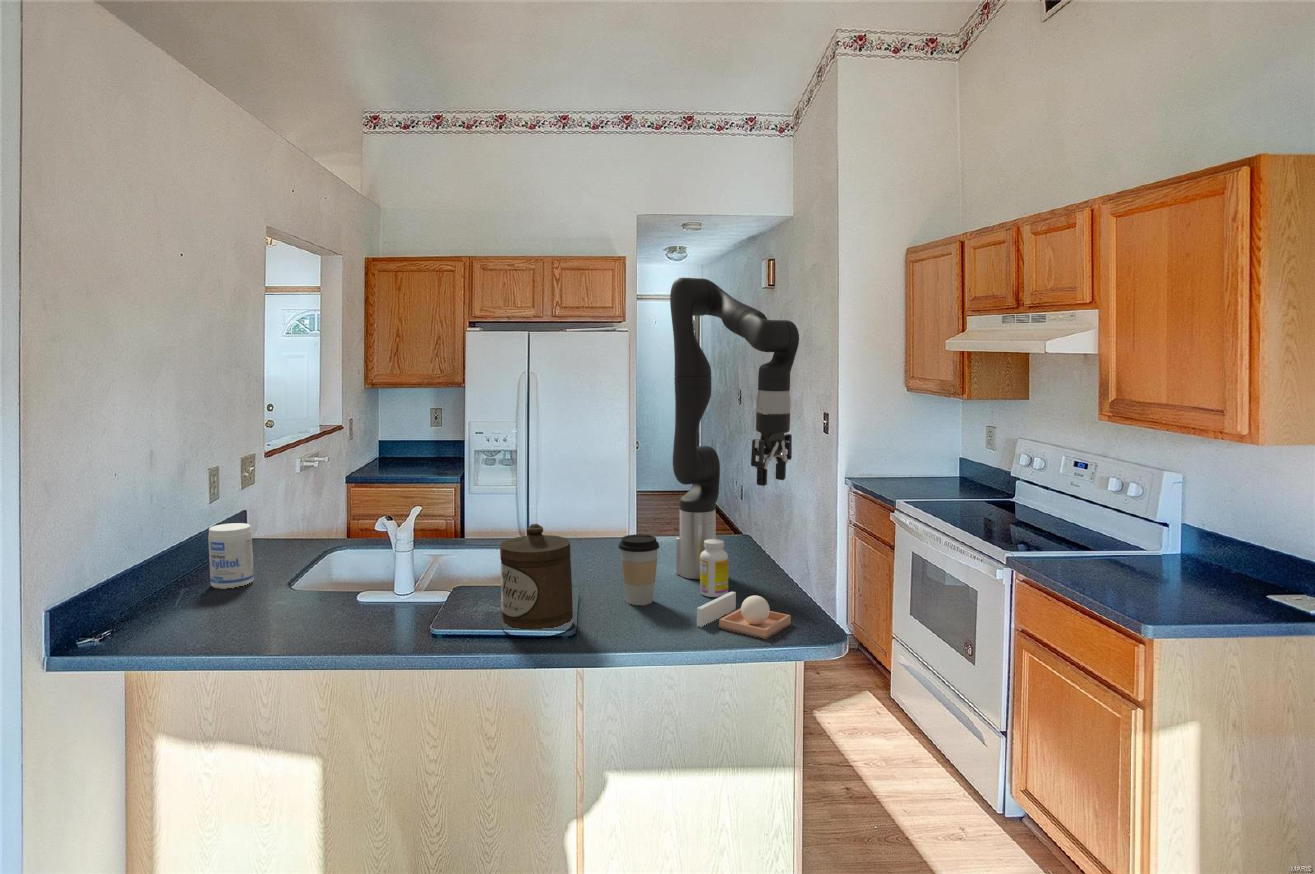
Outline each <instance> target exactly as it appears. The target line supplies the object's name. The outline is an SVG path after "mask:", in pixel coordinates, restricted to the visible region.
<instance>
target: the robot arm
mask: <svg viewBox="0 0 1315 874" xmlns="http://www.w3.org/2000/svg"><path fill="white" fill-rule="evenodd" d="M669 295H670V296H669V304H670V305H669V306H670V315H671V316H670V317H671V323H672V333H673V335H672V336H673V346H674V347H673V348H674V350H673V351H674V352H673V353H674V374H673V375H674V398H675V399H674V400H675V403H674V404H675V406H674V407H675V409H674V410H675V412H674V413H675V416H674V418H675V419H674V435H673V436H674V437H673V451H672V470H673V474H674V477H675V479H676V480H677V481H678V483H680V484H682V485H691V487H690V489H689V490H688V491H687V492H686V493H685V494H684V495H682V496H681V497H680V499H679V507H678V508H679V536H678V537H676V539H675V541H676V543H675V546H676V549H675V551H676V552H675V556H676V557H675V561H676V563H675V566H676V568H675V569H676V571H675V573H676V575H678V576H681V577H682V578H686V579H691V580H700V554H701V553H702V552H703V551H704V550H705V546H704V541H705V540H708V539H716V525H717V524H716V504H717V501H718V499H719V493H720V476H721V464H720V459H719V455H718V453H717V451H716V450H715V448H713V447H711V446H708V445H699V446H698V431H699V430H698V429H699V426H700V423H701V421H702V418H703V416H704V414H705V412H706V410H707V407H708V405H709V403H710V399H711V398H712V397H711V396H712V369H711V365H710V363H709V361H708V359H707V357H706V354H705V352H704V351H703V349H702V347H701V346H700V344H699V342H698V339H697V337H696V334H695V331H694V330H695V328H694V319H693V318H694V317H697V316H699V317H701V316H702V317H704V316H713V317H716V318H719V319H721V322H722V323H723V325H724V326H725V328H726V329H727V330H729V331H730V332H732V333H733V334H735V335H737V336H739V337H741V338H743V339H745V341H747V343H748V344H749V345H750V346H751V347H752V348H754V349H755V350H757V351H758V352H763V353H773V354H772V357H771V359H770V361H768V362H766V363H763V364H761V365H760V366H759V368H758V374H757V376H758V378H757V379H758V381H757V395H756V403H755V405H756V406H755V407H756V408H755V410H756V411H755V430H756V432H758V433H760V438H759V439H756V438H752V441H751V457H750V466H751V467H754V468H755V469H756V485H757V486H761V487H766V486H767V484H768V466H769V464H770V462H771V461H772V460H773V458H774V459H775V480H779V481H784V480H786V474H787V472H786V471H787V463H788V462H789V461H790V460H792V458H793V457H792V455H793V454H792V449H793V447H792V445H793V444H792V443H793V441H792V439H793V438H792V437H793V436H792V434H791V433H789V432H790V430H791V429H790V428H791V407H792V406H791V403H792V402H791V371H792V368H793V365H794V362H795V358H796V355H797V351H798V348H799V343H800V333H799V329H798V327H797V326H796V324H795V323H794V322H793V321H791V320H789V319H788V320H787V319H768V317H767V316H766V314H764V313H763V312H761V310H758V309H757V308H754V307H753V306H750V305H747V304H746V303H744V302H741V301H739V300H737V299H736V298H734V296H733V297H732V296H731V295H730V294H729V293H728V292H726V291H725V290H723V289H722V288H721V287H720V286H718V285H717V284H716V283H714V282H713V281H711V280H710V279H707V278H701V277H700V278H698V277H696V278H695V277H678V278H677V279H675V280H674V281H673V283H672V285H671V288H670V294H669Z"/></svg>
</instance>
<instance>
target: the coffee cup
mask: <svg viewBox="0 0 1315 874" xmlns="http://www.w3.org/2000/svg"><path fill="white" fill-rule="evenodd" d="M617 548H618V549H619V550H620V552H621V565H622V566H621V567H622V575H623V582H624V588H625V596H626V603H627V604H629V605H631V604H632V606H638V605H641V606H647V605H650V604H652V603H653V600H654V589H655V582H656V575H657V565H658V549H660V544H659V542H658V541H657V537H656V536H653V535H652V534H651V535H650V534H642V533H641V534H640V533H639V534H638V533H637V534H635V533H634V534H629V535H625V536H623V537H622V538H621V541H619V543H618V547H617Z"/></svg>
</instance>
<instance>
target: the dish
mask: <svg viewBox="0 0 1315 874" xmlns="http://www.w3.org/2000/svg"><path fill="white" fill-rule="evenodd" d="M791 618H792V616H791V614H786V613H781V612H777V611H773V610H770V613H769V616H768V618H767V619H766V621H764V622H763V623H761V624H758V625H754V624H750V623H748V622H747V621H746V620H745V619H744V618H743V616H742V614H741V607H740V608H738V609H737V610H734V611H732V612H730V613H728V614H726V615H725V616H723V617H721V618H719V619H718V620H719V621H718V629H719V628H723V629H726V630H725V631H727V630H730V631H729V632H731V631H733V632H732V633H735V632H737V634H739V633H743V634H746V635H745V636H748V635H750V636H749V637H752V636H753V637H752V638H756V637H760V638H763V639H762V640H764V639H766V640H768V639H769V638H771V637H772V635H773V636H774V635H776V634H778V633H779V632H781V631H783V630H784V629H786V628H787V627H789V626H790V624H791V623H792V621H791V620H792V619H791ZM783 628H784V629H783ZM723 629H722V630H723ZM775 633H776V634H775ZM743 634H742V635H743ZM760 638H759V639H760ZM767 638H768V639H767Z"/></svg>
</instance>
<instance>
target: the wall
mask: <svg viewBox="0 0 1315 874" xmlns="http://www.w3.org/2000/svg"><path fill="white" fill-rule="evenodd" d="M736 593H737V592H736V591H730V592H729V591H728V593H727V594H725V595H723V596H721V597H716V598H715V599H712V600H711V601H709V602H706V603H704V604H703V605H701V606H698V607H696V627H698V626H700V627H699V628H703V627H705V626H707V625H708V624H707V623H709V624H711V623H713V622H715V621H717V620H719V619H721V618H723V617H725V616H726V615H729V614H731V613H733V612H734V611H736V609H737V606H736V605H737V601H736V600H737V599H736V598H737V594H736ZM733 610H734V611H733ZM725 614H726V615H725ZM724 615H725V616H724ZM722 616H723V617H722ZM716 619H717V620H716ZM714 620H715V621H714ZM712 621H713V622H712ZM710 622H711V623H710ZM706 624H707V625H706ZM704 625H705V626H704ZM702 626H703V627H702Z"/></svg>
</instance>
